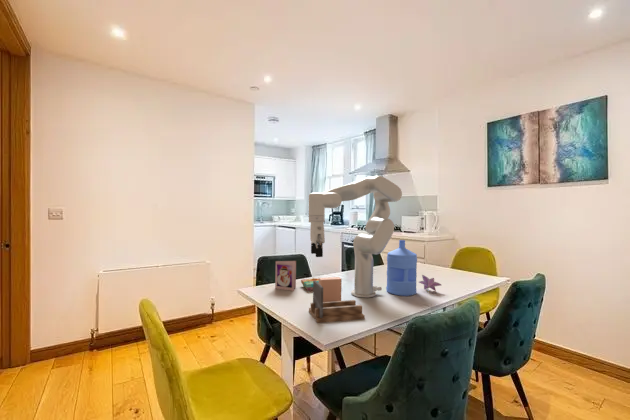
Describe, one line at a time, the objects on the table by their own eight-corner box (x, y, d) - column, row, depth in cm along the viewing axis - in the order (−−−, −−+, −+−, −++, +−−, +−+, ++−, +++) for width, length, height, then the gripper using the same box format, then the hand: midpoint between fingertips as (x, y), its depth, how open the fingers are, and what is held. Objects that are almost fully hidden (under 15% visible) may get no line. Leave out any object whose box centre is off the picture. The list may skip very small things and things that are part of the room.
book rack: (351, 308, 141) (352, 278, 141) (364, 319, 127) (365, 286, 127) (308, 311, 136) (309, 280, 136) (317, 323, 122) (317, 288, 122)
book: (338, 301, 150) (338, 276, 150) (341, 304, 146) (341, 278, 146) (318, 303, 147) (318, 277, 147) (320, 305, 143) (321, 279, 143)
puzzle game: (301, 278, 178) (333, 276, 184) (300, 286, 178) (333, 284, 184) (306, 283, 167) (341, 281, 173) (306, 292, 167) (341, 289, 173)
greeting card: (274, 288, 171) (274, 261, 171) (280, 285, 178) (281, 259, 178) (293, 291, 167) (293, 263, 167) (299, 287, 174) (299, 261, 174)
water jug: (382, 288, 176) (383, 238, 175) (409, 288, 177) (410, 238, 176) (391, 296, 160) (392, 242, 160) (421, 296, 161) (422, 242, 161)
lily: (443, 295, 166) (444, 279, 170) (430, 289, 162) (430, 273, 166) (427, 297, 175) (427, 281, 179) (413, 291, 171) (414, 276, 175)
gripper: (329, 219, 140) (329, 258, 140) (319, 218, 156) (319, 252, 157) (312, 220, 138) (312, 258, 138) (305, 218, 155) (305, 252, 155)
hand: (316, 255), depth 148 cm, fingers open, 9 cm apart
